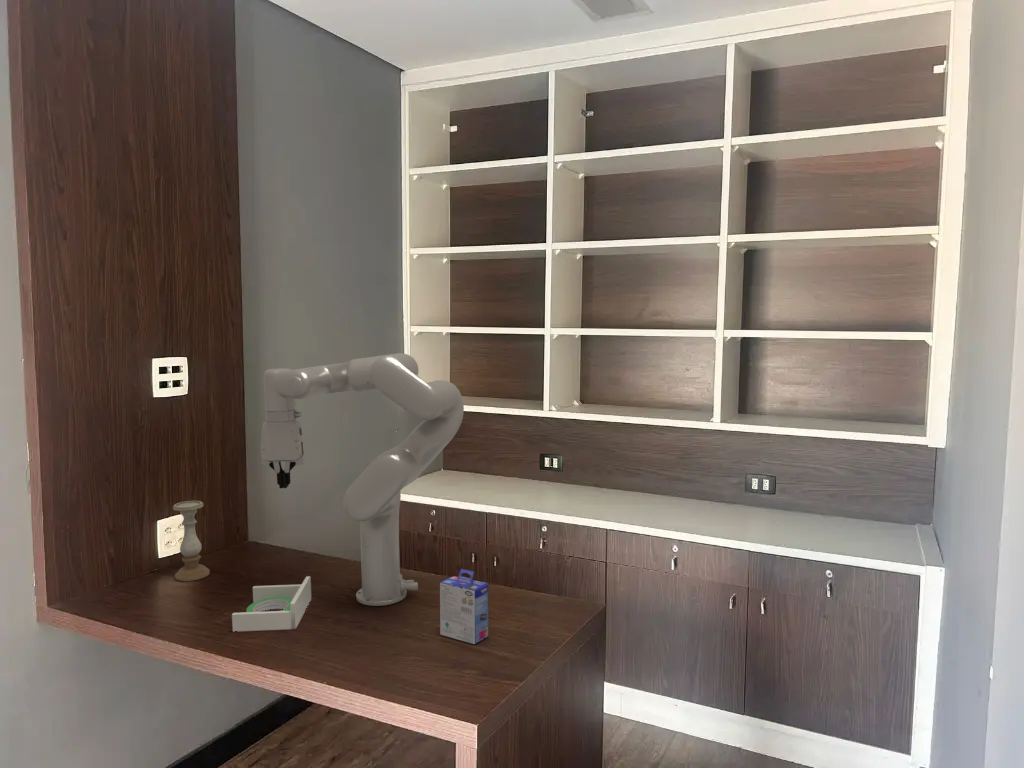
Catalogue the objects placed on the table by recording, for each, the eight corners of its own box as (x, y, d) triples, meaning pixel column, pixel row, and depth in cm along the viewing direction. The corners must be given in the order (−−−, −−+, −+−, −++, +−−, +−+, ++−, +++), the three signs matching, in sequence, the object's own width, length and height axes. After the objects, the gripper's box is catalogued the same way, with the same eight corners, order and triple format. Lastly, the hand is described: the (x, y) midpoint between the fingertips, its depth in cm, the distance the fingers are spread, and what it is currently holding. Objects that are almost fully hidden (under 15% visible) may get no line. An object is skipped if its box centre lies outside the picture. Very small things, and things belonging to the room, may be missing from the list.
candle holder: (179, 584, 191) (174, 510, 189) (171, 575, 198) (166, 503, 196) (213, 576, 197) (209, 504, 195) (204, 567, 203) (200, 498, 201)
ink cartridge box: (490, 635, 158) (489, 572, 157) (476, 645, 154) (474, 580, 152) (454, 626, 163) (452, 564, 162) (439, 635, 159) (437, 572, 157)
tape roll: (279, 629, 164) (278, 617, 164) (236, 624, 167) (236, 613, 166) (304, 609, 175) (304, 599, 174) (264, 605, 177) (263, 595, 177)
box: (311, 599, 180) (310, 576, 179) (295, 629, 163) (294, 603, 162) (254, 601, 179) (253, 578, 178) (232, 631, 162) (231, 606, 161)
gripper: (313, 414, 187) (316, 482, 189) (255, 415, 186) (258, 484, 188) (307, 418, 180) (310, 489, 181) (246, 419, 179) (250, 491, 180)
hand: (284, 487), depth 185 cm, fingers closed
